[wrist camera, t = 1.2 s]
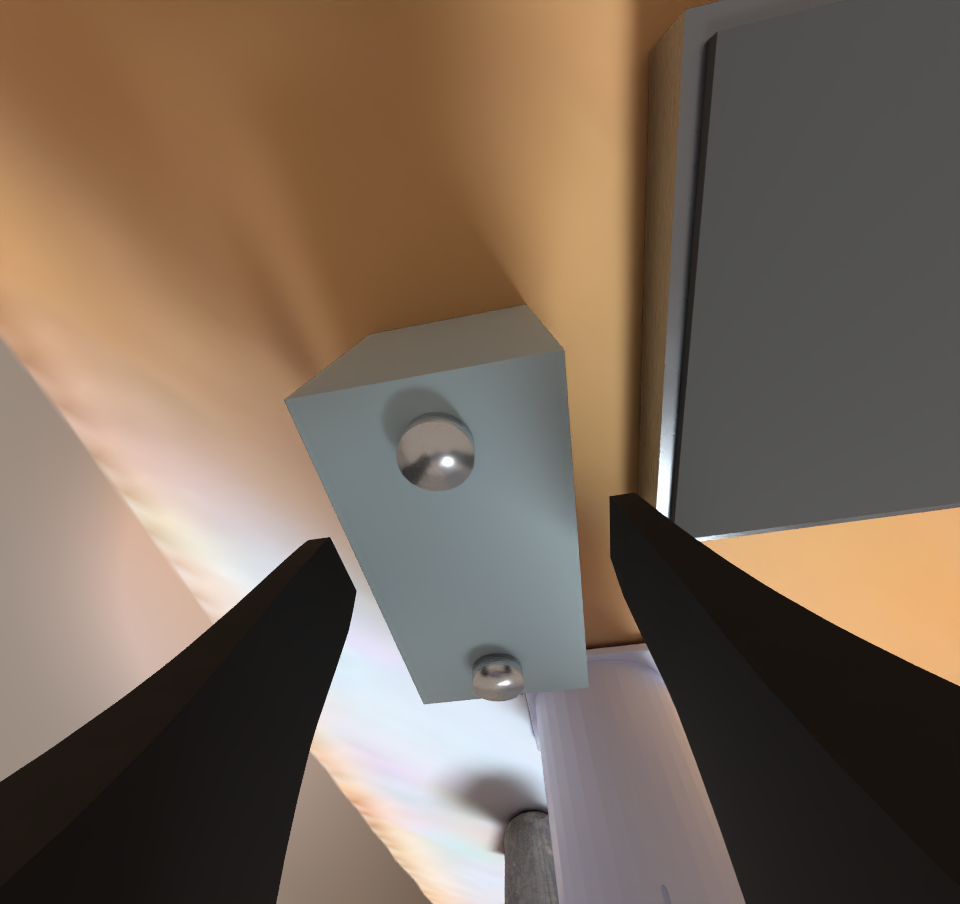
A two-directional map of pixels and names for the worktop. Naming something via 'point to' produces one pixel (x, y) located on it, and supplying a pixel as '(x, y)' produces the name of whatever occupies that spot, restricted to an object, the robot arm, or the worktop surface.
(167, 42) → the worktop surface
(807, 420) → the shallow gray tray
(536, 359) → the block
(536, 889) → the pipe
